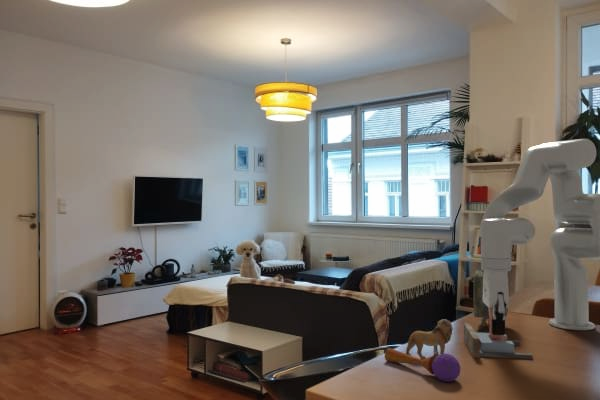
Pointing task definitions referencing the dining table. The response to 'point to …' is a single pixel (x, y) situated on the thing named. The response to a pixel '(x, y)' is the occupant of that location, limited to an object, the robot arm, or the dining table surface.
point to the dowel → (492, 337)
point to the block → (495, 344)
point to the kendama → (429, 364)
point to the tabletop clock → (480, 299)
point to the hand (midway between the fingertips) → (496, 331)
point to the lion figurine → (431, 338)
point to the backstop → (474, 347)
